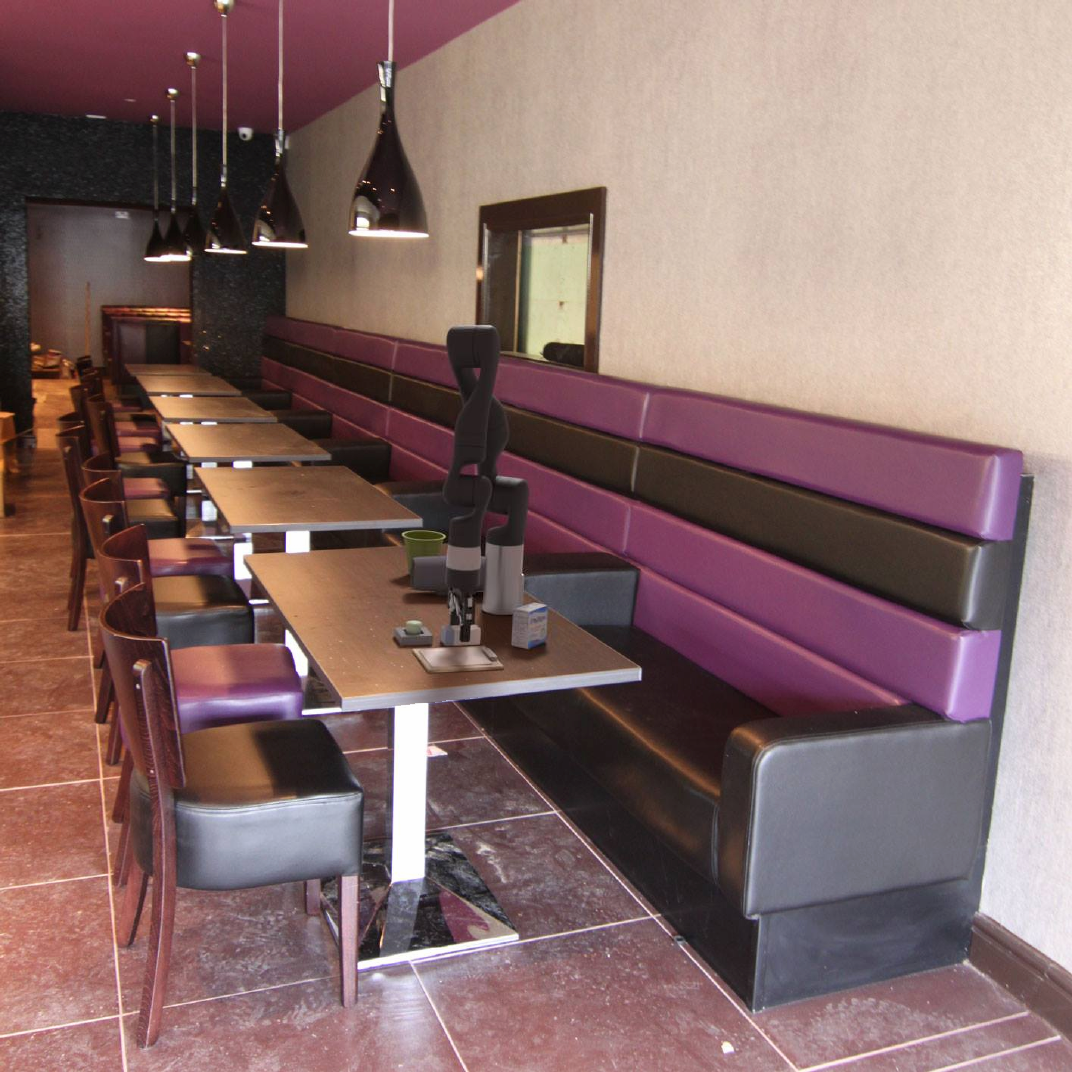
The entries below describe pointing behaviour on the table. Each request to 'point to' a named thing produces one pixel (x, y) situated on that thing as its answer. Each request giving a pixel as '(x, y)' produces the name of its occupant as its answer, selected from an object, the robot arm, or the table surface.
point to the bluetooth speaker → (436, 575)
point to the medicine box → (529, 625)
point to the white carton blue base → (452, 635)
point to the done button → (413, 627)
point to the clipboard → (457, 659)
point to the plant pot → (422, 544)
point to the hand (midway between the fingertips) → (459, 636)
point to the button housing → (413, 637)
